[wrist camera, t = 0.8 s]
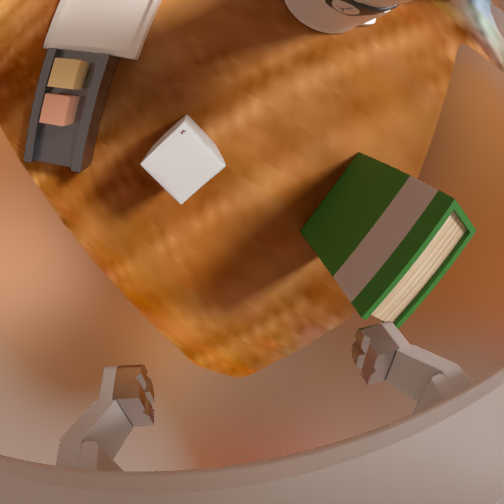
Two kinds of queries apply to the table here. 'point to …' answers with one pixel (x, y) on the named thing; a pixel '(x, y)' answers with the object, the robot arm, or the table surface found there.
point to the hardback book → (386, 238)
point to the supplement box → (183, 159)
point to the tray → (102, 26)
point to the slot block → (87, 116)
